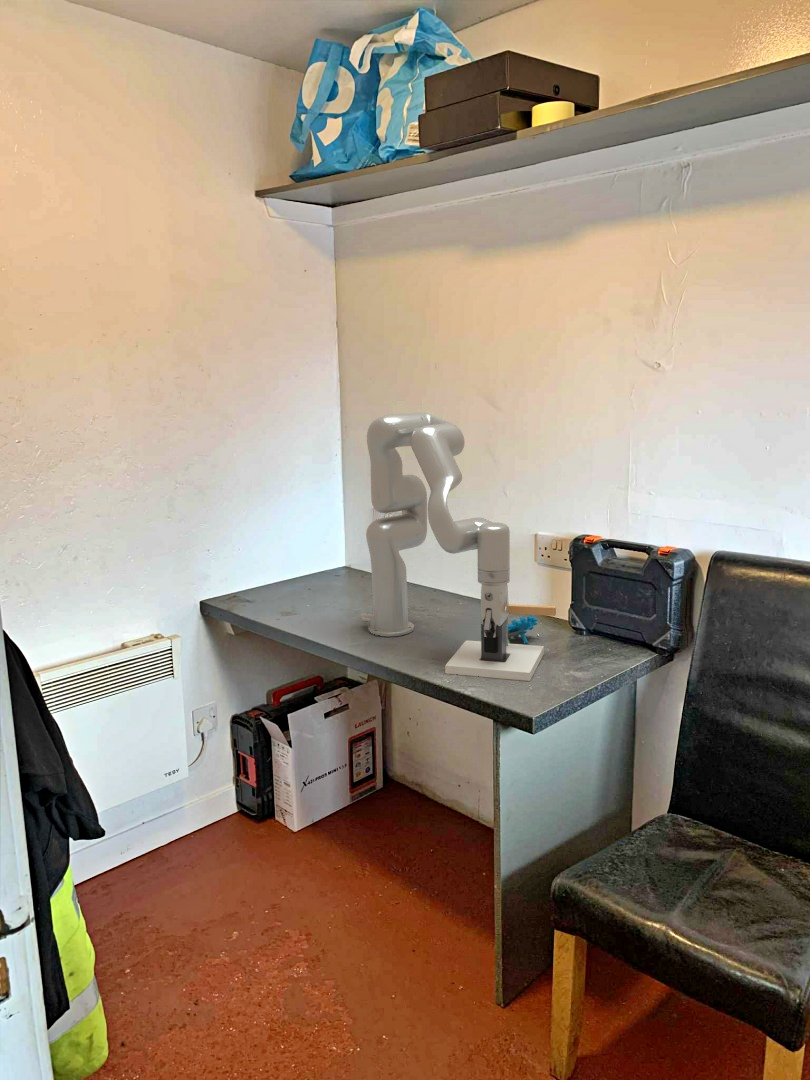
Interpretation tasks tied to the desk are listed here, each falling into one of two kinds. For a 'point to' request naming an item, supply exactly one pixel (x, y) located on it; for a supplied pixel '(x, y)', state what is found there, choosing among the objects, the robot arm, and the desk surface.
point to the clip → (532, 610)
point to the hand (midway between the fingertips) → (493, 647)
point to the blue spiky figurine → (521, 627)
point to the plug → (501, 653)
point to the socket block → (516, 666)
